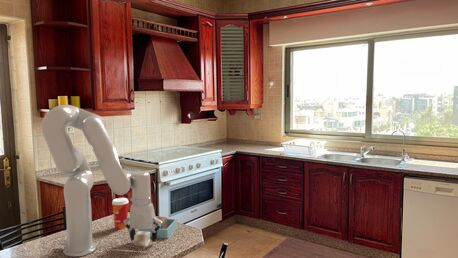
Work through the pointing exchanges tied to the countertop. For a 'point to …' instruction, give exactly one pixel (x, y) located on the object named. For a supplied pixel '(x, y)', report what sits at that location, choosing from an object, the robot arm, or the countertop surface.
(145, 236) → the birch block
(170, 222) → the tote
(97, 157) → the robot arm
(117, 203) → the paper cup
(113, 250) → the countertop surface
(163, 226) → the walnut block
